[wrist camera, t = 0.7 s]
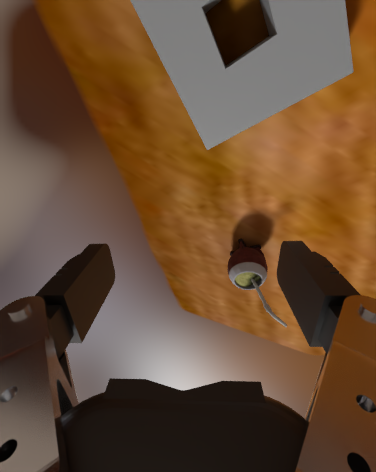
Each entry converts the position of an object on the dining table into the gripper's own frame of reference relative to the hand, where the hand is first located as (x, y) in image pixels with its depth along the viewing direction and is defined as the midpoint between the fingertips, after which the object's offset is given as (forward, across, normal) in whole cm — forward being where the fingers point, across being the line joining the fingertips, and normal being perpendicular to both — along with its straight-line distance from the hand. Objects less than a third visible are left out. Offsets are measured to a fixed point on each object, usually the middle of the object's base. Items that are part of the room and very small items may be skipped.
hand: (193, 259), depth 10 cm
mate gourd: (+31, -10, +18) cm, 37 cm away
